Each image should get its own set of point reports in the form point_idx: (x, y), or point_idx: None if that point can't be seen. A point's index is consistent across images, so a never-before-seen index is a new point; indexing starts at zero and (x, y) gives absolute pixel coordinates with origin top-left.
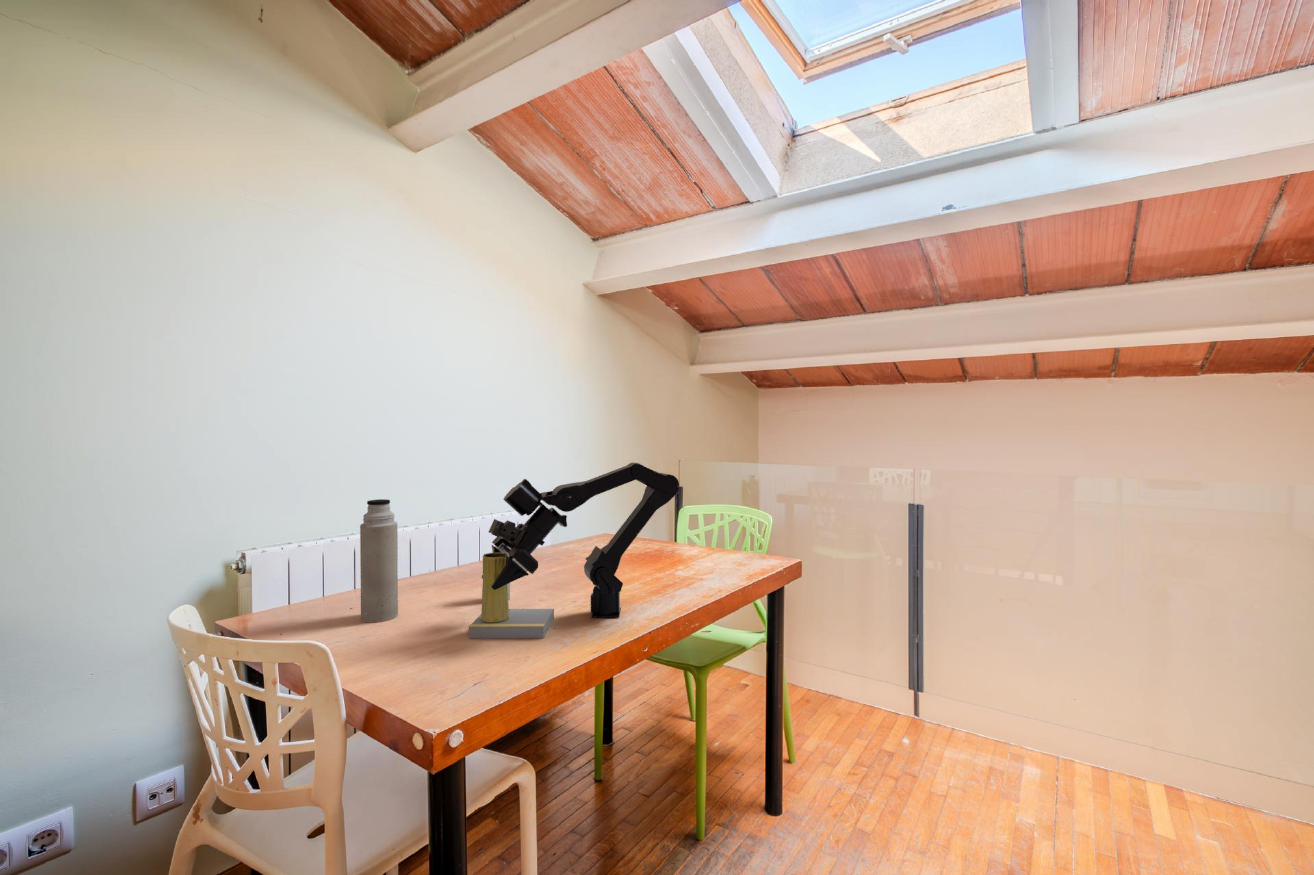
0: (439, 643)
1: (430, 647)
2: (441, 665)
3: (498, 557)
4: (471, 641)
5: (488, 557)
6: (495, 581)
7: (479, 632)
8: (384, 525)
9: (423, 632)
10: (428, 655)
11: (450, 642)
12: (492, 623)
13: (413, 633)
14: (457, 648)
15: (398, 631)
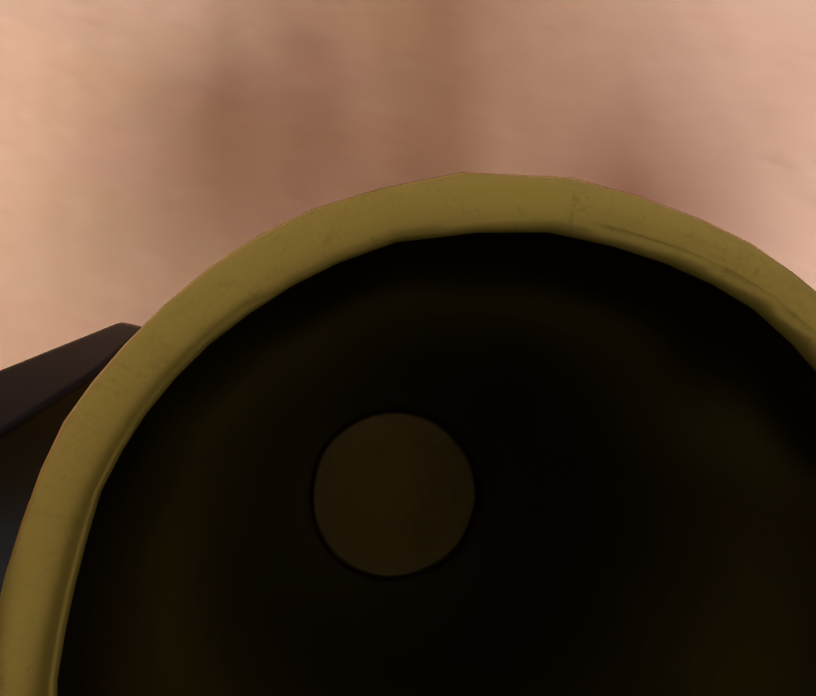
0: (405, 122)
1: (378, 63)
2: (74, 4)
3: (9, 581)
4: None
5: (266, 235)
6: (48, 357)
7: None
8: None
9: (653, 127)
10: (266, 11)
11: (375, 174)
12: None
13: (673, 80)
14: (250, 164)
15: (761, 33)
